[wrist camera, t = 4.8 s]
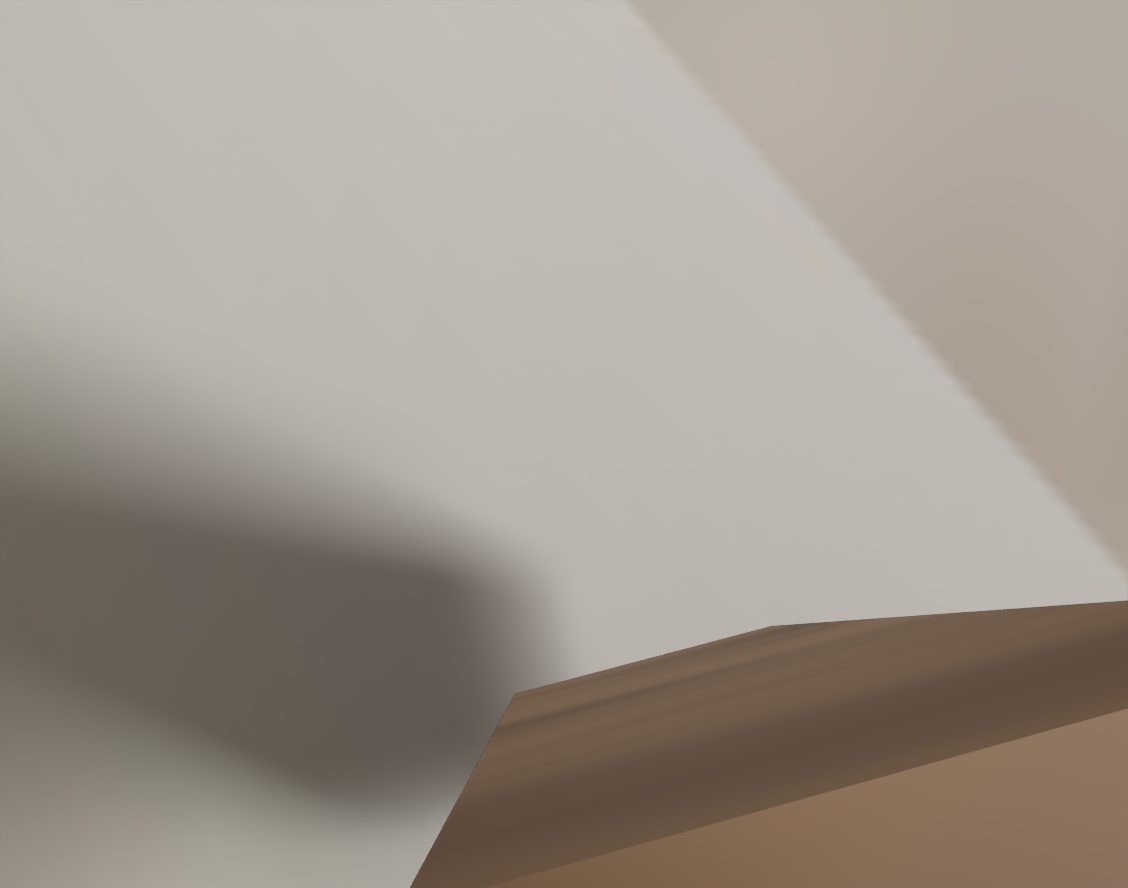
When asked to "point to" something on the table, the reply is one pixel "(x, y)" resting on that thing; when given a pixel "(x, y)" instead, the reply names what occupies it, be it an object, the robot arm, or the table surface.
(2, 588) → the table surface
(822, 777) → the walnut block
